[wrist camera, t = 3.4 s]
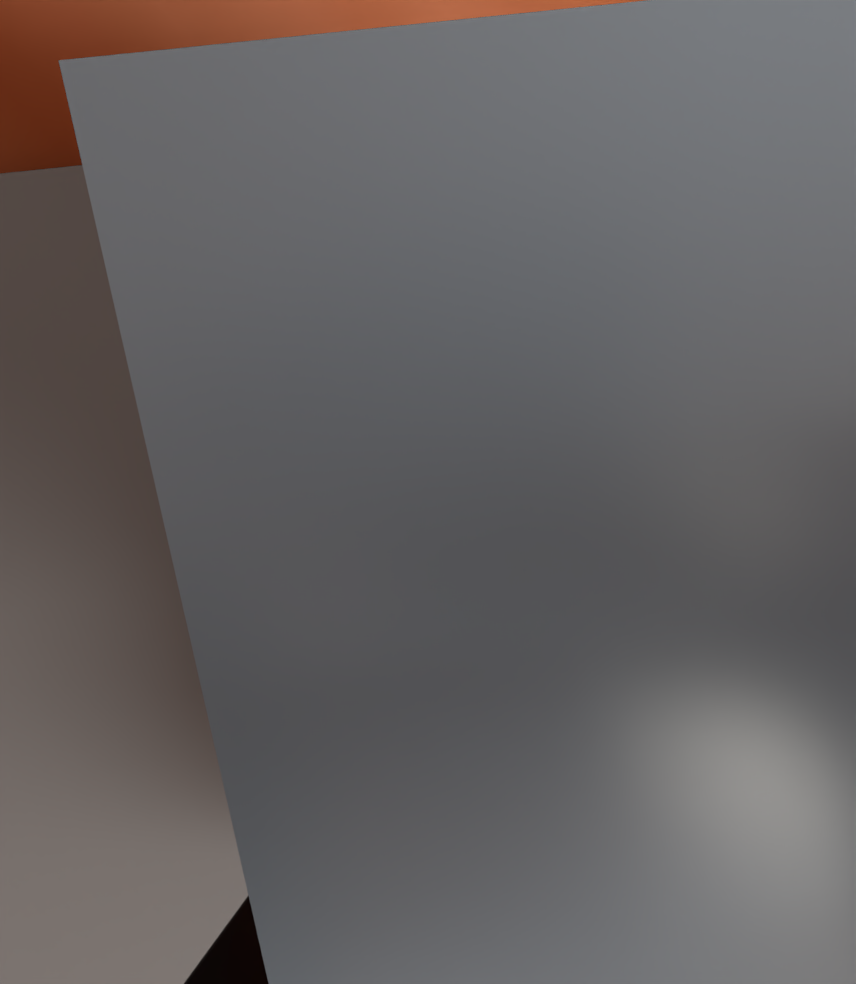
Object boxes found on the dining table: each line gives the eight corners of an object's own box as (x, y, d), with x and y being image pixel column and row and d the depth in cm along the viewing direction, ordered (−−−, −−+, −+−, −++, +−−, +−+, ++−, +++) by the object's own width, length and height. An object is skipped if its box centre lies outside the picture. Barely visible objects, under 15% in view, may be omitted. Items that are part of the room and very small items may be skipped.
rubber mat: (121, 168, 12) (110, 162, 12) (288, 954, 17) (285, 972, 17) (-398, 222, 12) (-432, 218, 11) (-72, 997, 17) (-85, 1016, 17)
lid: (946, 94, 6) (1333, -70, 3) (832, 1211, 10) (969, 1493, 8) (202, 171, 6) (58, 58, 3) (401, 1266, 10) (401, 1568, 8)
